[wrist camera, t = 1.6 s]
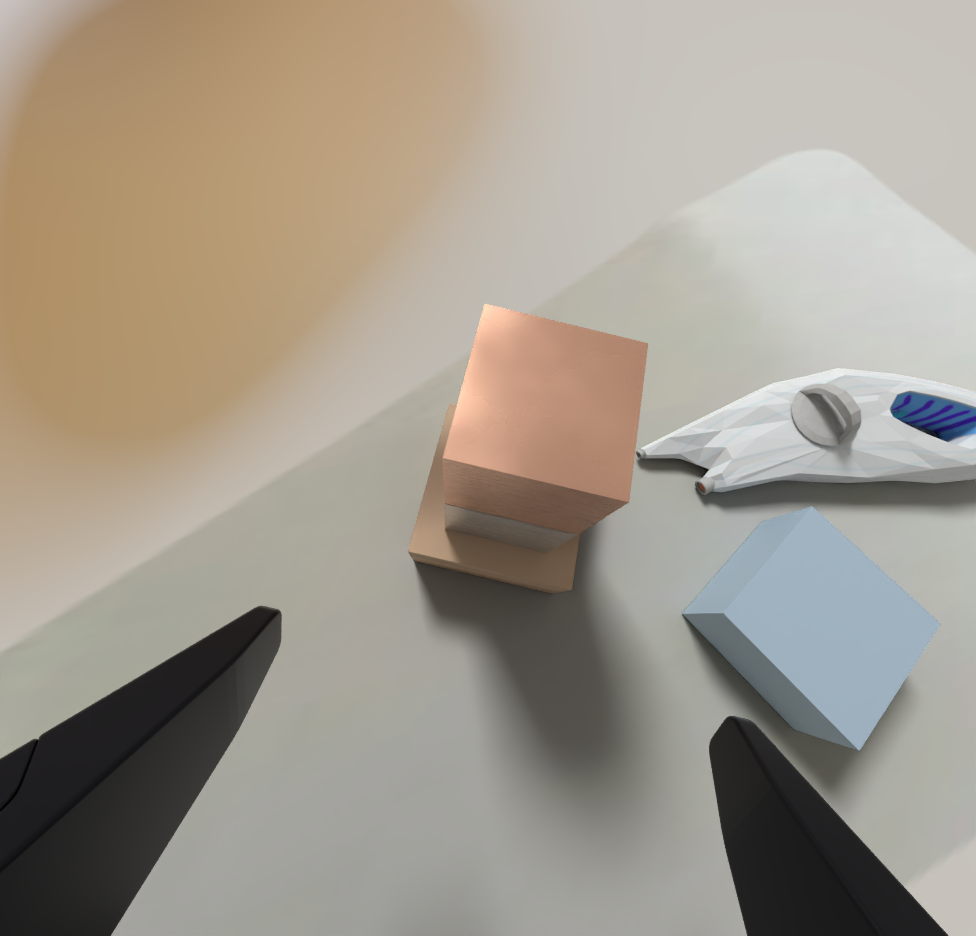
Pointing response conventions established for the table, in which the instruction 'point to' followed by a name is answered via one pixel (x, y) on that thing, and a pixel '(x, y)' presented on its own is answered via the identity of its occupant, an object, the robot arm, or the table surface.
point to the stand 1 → (483, 542)
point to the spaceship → (832, 433)
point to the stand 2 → (813, 626)
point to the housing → (542, 430)
